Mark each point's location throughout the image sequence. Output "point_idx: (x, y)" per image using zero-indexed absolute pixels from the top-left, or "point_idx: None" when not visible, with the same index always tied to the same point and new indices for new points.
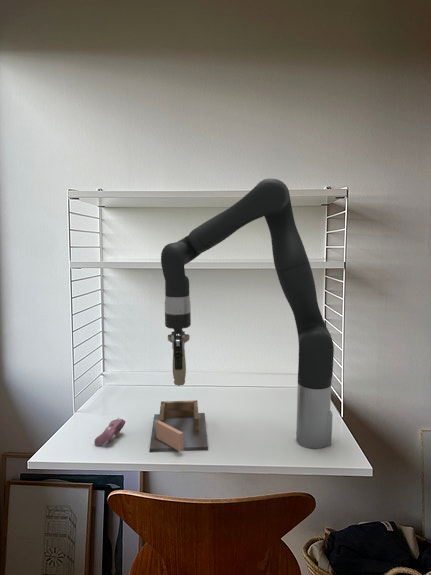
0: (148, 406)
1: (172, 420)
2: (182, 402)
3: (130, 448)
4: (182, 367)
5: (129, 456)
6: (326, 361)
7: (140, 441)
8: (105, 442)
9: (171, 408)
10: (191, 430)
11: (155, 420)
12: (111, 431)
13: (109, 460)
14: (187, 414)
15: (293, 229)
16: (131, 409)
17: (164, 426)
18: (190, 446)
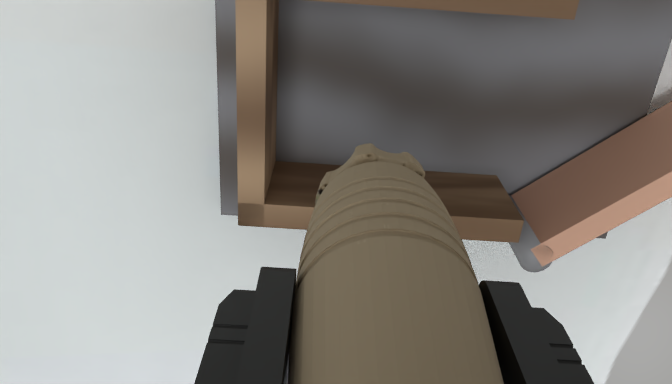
0: (79, 233)
1: (312, 121)
2: (266, 86)
3: (535, 301)
4: (474, 279)
5: (603, 302)
6: None
7: (481, 265)
8: None
9: (270, 147)
10: (467, 17)
11: (535, 263)
12: None
13: (607, 364)
14: (276, 31)
15: None
16: (122, 308)
17: (629, 217)
18: (663, 40)
